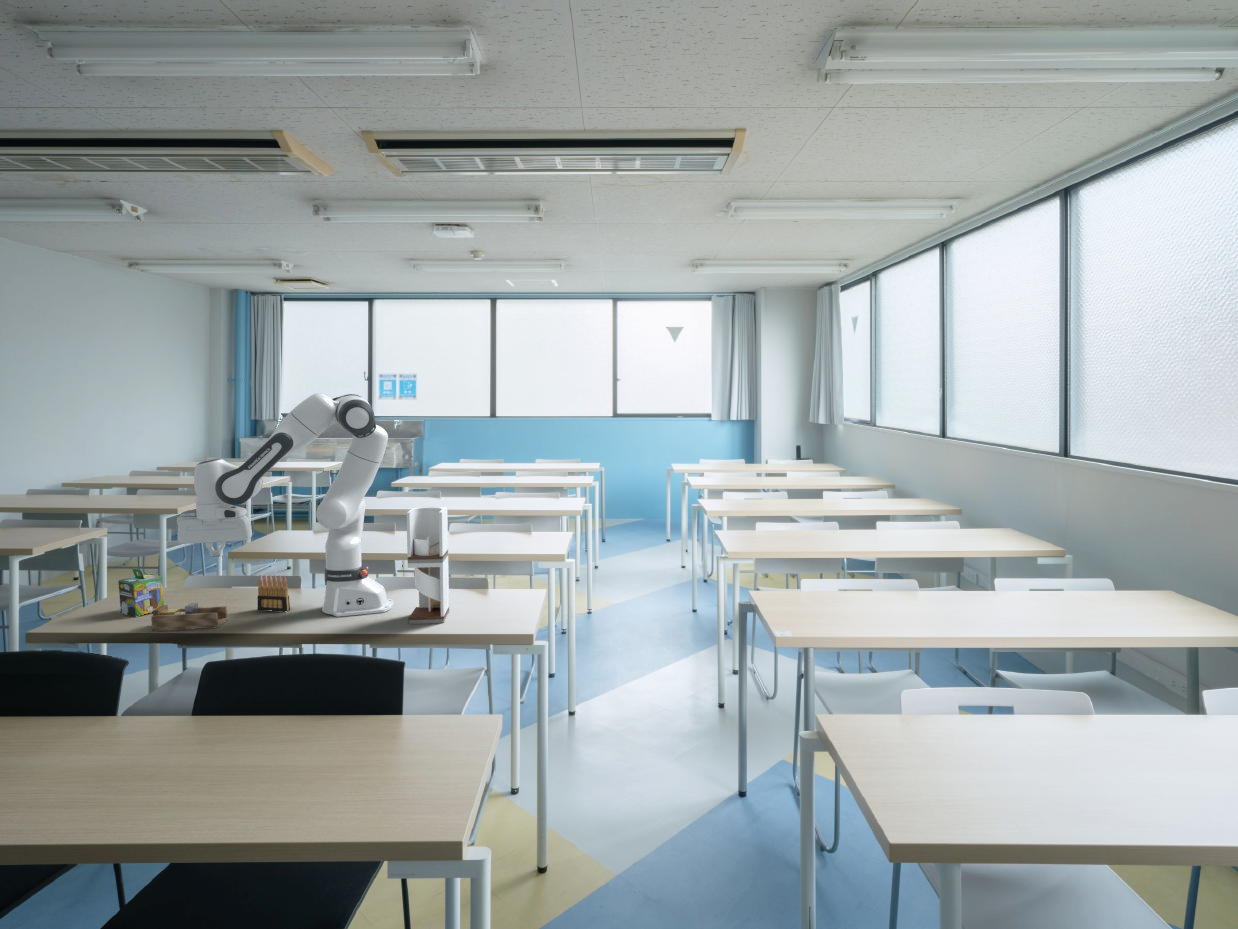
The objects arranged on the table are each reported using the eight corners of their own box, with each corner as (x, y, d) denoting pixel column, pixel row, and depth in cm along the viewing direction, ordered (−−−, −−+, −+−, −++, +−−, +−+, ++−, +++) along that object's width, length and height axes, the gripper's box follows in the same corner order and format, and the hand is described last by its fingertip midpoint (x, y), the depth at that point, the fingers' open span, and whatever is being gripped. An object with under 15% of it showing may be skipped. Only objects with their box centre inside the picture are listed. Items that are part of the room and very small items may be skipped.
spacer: (175, 624, 208) (174, 612, 207) (160, 625, 207) (160, 612, 207) (181, 620, 211) (180, 608, 211) (167, 621, 211) (166, 608, 210)
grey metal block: (198, 620, 212) (197, 602, 212) (192, 623, 208) (192, 606, 208) (181, 620, 211) (180, 603, 211) (175, 624, 207) (174, 607, 207)
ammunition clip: (290, 610, 226) (289, 575, 225) (286, 612, 225) (285, 576, 224) (261, 609, 228) (259, 573, 227) (257, 610, 226) (255, 575, 225)
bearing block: (227, 620, 216) (226, 601, 215) (216, 628, 208) (216, 608, 207) (165, 623, 213) (164, 604, 212) (152, 631, 205) (150, 611, 204)
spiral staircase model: (416, 613, 223) (413, 507, 221) (449, 612, 224) (447, 507, 222) (409, 623, 212) (406, 512, 209) (443, 622, 213) (441, 512, 210)
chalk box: (165, 610, 226) (162, 566, 225) (135, 618, 218) (132, 572, 217) (149, 606, 230) (147, 563, 229) (119, 614, 222) (116, 569, 221)
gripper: (171, 515, 204) (175, 560, 205) (244, 511, 207) (247, 556, 208) (181, 512, 210) (184, 556, 211) (252, 508, 214) (255, 552, 215)
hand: (216, 556), depth 210 cm, fingers closed
